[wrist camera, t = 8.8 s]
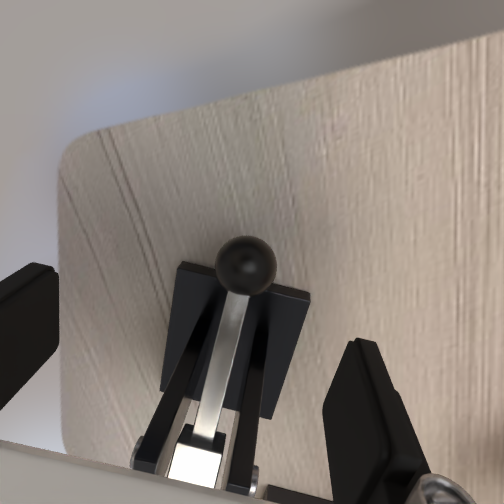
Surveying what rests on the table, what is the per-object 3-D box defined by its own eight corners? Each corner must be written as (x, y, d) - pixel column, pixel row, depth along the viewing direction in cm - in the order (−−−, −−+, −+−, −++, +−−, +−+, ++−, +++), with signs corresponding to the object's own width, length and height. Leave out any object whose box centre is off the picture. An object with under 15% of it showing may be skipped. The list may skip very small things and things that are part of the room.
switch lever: (225, 235, 20) (221, 223, 17) (280, 248, 20) (286, 239, 17) (163, 472, 18) (145, 509, 15) (222, 488, 18) (217, 528, 15)
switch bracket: (182, 260, 24) (88, 386, 13) (310, 292, 24) (322, 447, 13) (164, 380, 28) (82, 549, 17) (272, 408, 28) (257, 597, 17)
